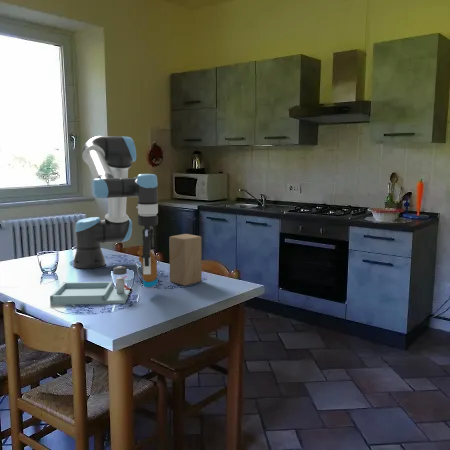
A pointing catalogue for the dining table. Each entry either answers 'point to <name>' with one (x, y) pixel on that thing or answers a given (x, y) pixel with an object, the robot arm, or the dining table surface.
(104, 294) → the tray
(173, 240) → the wooden block
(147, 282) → the toy
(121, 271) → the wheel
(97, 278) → the dining table surface
